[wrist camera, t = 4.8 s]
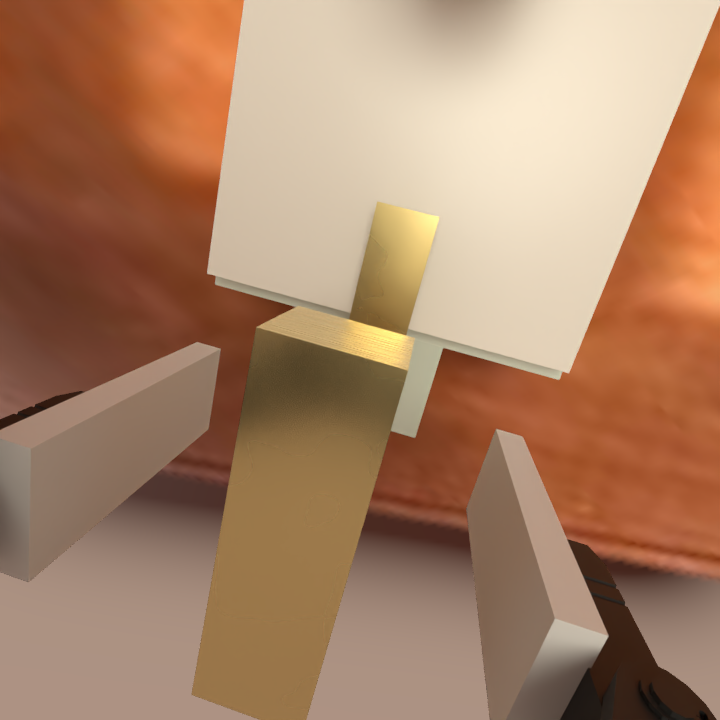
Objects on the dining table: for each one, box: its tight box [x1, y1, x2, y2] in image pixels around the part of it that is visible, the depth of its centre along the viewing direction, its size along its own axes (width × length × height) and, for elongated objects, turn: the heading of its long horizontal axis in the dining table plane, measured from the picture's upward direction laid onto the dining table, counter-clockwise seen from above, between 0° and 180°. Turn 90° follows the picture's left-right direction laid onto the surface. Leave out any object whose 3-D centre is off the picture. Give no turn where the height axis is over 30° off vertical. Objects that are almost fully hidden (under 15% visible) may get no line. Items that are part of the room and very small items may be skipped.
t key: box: [192, 201, 440, 720], centre depth 13 cm, size 2×10×10 cm, turn 166°
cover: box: [207, 0, 720, 373], centre depth 11 cm, size 14×17×9 cm
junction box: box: [215, 276, 563, 438], centre depth 19 cm, size 14×22×7 cm, turn 166°
